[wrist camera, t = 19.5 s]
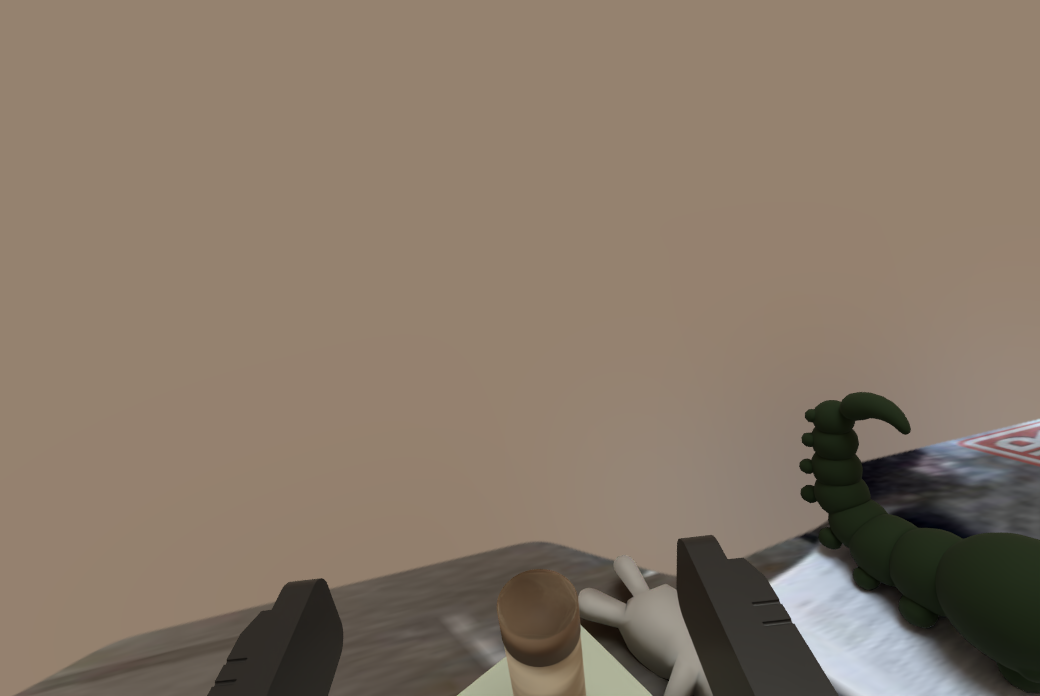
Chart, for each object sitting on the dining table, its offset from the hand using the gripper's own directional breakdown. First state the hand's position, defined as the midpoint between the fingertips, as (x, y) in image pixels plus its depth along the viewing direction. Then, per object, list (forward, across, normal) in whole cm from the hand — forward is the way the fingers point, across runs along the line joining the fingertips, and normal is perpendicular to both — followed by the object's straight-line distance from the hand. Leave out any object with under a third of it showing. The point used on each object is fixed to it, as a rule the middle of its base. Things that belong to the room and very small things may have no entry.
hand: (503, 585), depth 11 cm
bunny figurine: (+20, -10, +32) cm, 39 cm away
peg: (+11, 0, +32) cm, 34 cm away
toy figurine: (+21, -33, +32) cm, 51 cm away
